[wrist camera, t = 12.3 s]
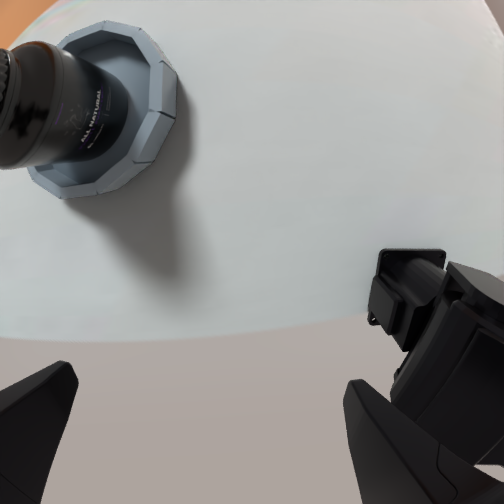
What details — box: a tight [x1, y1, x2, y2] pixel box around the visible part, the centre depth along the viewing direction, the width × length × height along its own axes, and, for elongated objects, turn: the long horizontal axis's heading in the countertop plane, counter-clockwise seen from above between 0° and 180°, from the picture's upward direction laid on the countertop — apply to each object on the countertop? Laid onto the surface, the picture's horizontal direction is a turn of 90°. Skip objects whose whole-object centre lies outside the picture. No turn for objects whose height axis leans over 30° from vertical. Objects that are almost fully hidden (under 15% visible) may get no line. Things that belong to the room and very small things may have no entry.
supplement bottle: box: [0, 41, 128, 170], centre depth 10 cm, size 7×7×12 cm
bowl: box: [27, 20, 177, 199], centre depth 15 cm, size 13×13×3 cm
